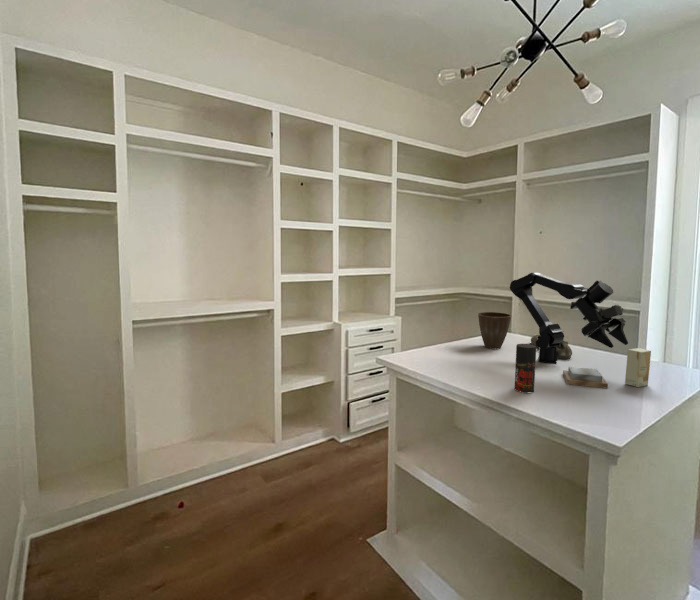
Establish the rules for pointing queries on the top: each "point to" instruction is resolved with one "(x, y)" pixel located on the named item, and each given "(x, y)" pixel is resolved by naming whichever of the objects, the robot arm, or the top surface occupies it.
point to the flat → (563, 349)
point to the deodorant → (525, 367)
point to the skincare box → (637, 367)
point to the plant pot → (494, 328)
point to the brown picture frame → (584, 377)
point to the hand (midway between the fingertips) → (619, 345)
